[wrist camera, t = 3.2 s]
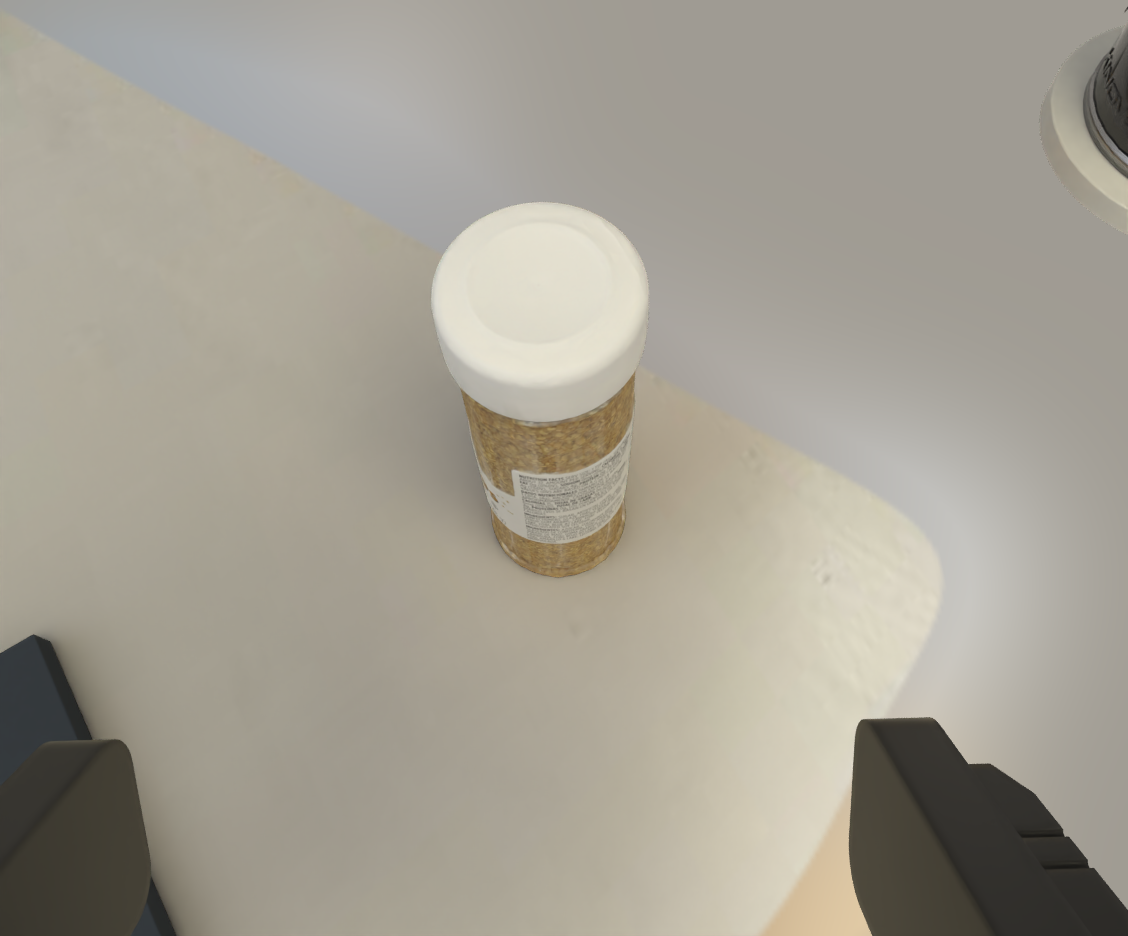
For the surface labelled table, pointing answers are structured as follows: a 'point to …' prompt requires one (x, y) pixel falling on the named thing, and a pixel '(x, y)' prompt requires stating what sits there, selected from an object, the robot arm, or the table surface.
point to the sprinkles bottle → (546, 374)
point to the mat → (49, 731)
